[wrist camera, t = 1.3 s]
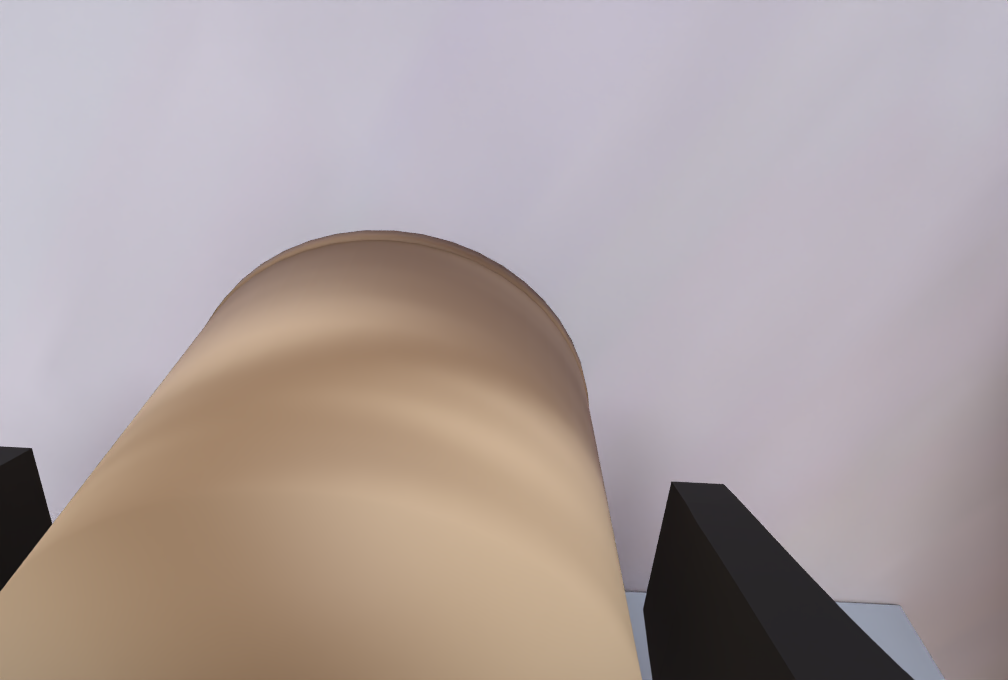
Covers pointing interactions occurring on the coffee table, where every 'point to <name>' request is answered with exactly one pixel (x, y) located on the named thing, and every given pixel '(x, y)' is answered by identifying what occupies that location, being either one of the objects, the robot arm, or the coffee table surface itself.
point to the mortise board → (873, 619)
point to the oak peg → (343, 492)
